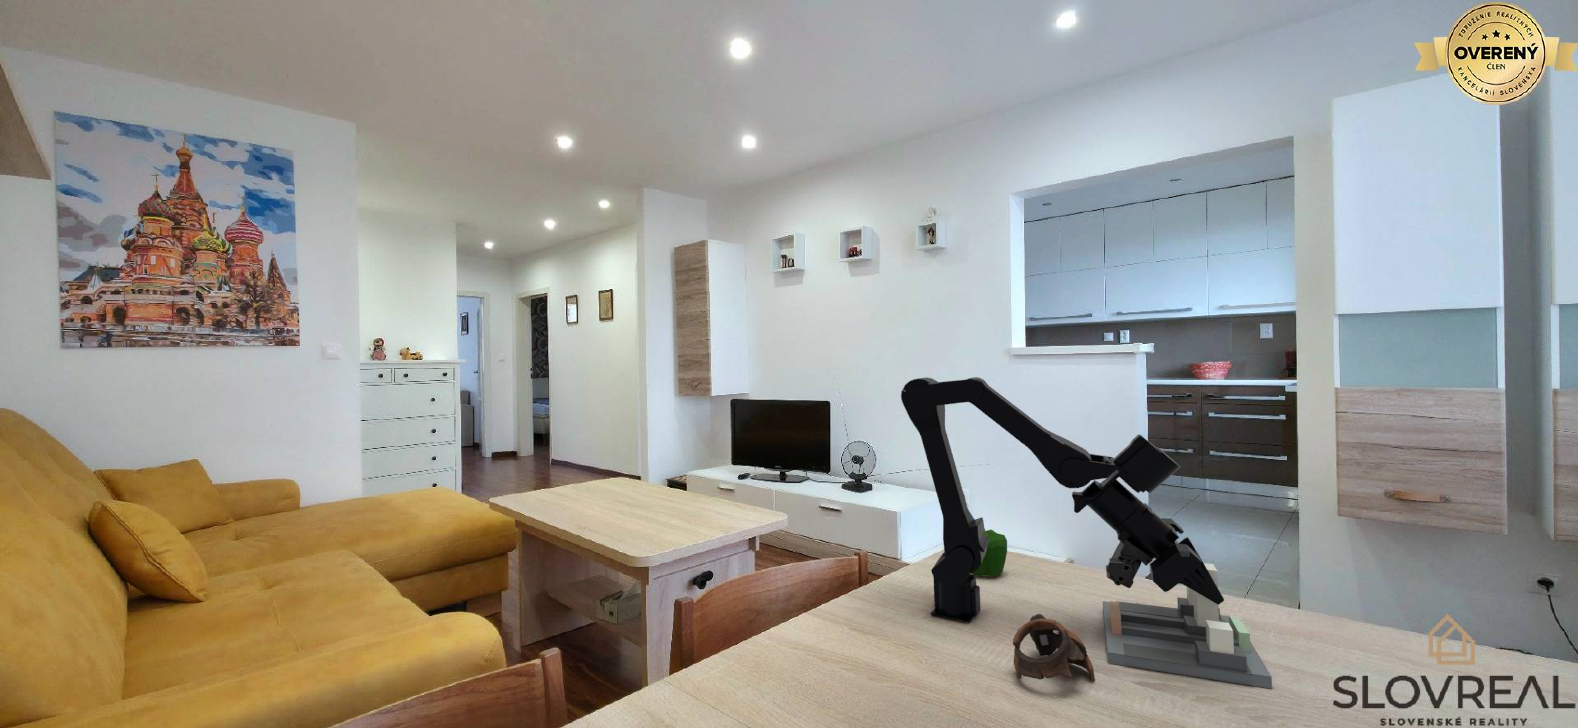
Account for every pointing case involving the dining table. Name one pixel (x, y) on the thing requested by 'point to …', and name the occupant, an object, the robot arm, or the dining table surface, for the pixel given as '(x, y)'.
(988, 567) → the bell pepper
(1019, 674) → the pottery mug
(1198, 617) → the breaker handle
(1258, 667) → the board
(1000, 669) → the dining table surface
